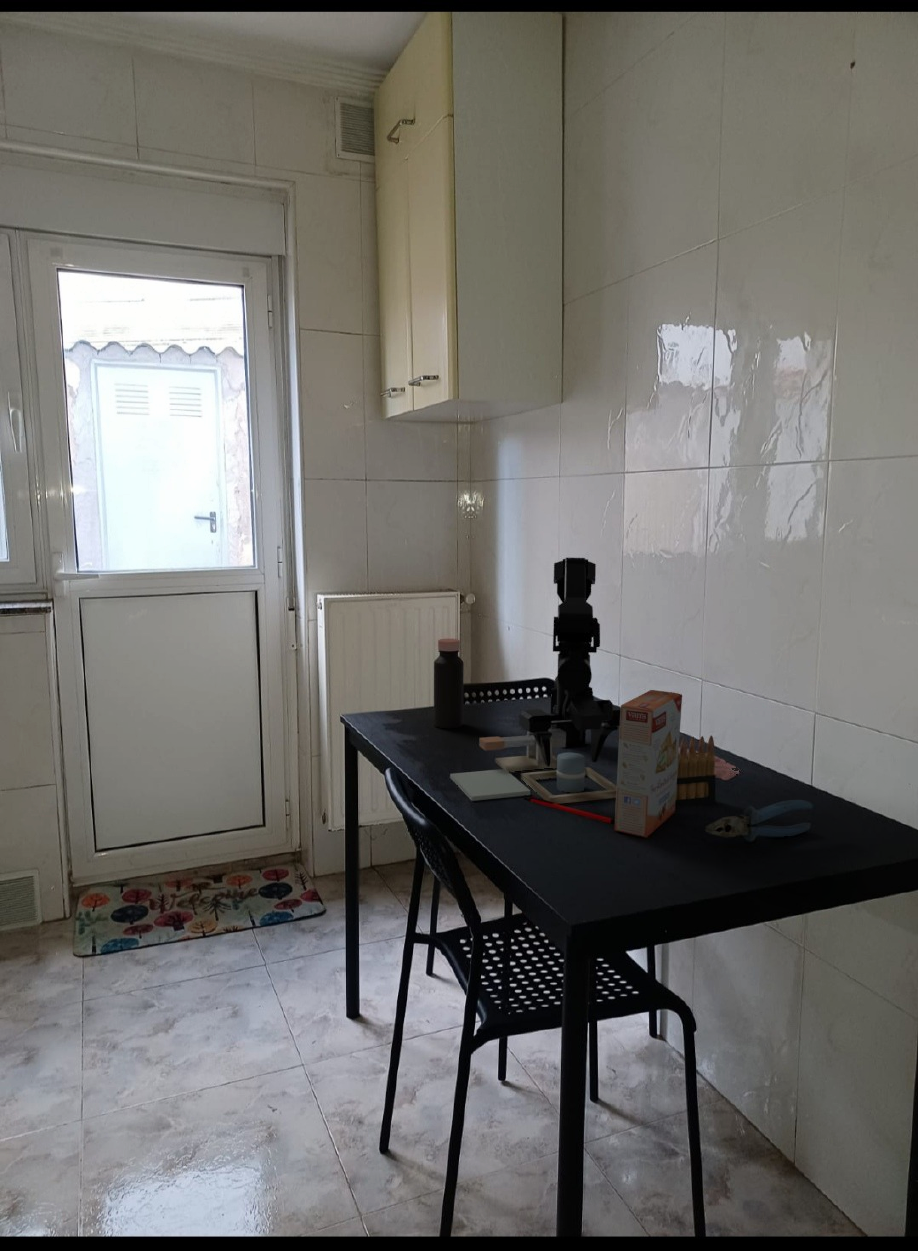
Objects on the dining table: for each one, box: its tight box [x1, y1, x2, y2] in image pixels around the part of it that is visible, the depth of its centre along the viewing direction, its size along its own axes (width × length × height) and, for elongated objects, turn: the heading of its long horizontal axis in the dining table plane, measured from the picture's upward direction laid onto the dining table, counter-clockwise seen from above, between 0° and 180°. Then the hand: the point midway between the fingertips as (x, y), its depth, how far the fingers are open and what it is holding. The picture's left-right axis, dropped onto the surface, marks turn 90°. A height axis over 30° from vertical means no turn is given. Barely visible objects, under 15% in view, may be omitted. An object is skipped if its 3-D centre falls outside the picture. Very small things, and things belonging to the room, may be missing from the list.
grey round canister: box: [556, 752, 586, 794], centre depth 160 cm, size 5×5×6 cm
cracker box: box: [614, 689, 683, 839], centre depth 143 cm, size 14×6×21 cm, turn 148°
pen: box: [523, 796, 615, 825], centre depth 149 cm, size 1×19×1 cm, turn 51°
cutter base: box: [494, 730, 557, 773], centre depth 174 cm, size 12×7×6 cm, turn 107°
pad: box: [449, 768, 531, 802], centre depth 161 cm, size 11×13×1 cm
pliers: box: [705, 799, 814, 842], centre depth 137 cm, size 20×2×6 cm, turn 112°
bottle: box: [433, 638, 465, 730], centre depth 202 cm, size 7×7×20 cm
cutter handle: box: [478, 728, 567, 751], centre depth 173 cm, size 17×3×3 cm, turn 107°
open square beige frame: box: [520, 766, 617, 805], centre depth 161 cm, size 14×14×1 cm
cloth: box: [678, 746, 740, 781], centre depth 177 cm, size 20×22×2 cm
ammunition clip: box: [675, 735, 717, 808], centre depth 152 cm, size 11×2×12 cm, turn 106°
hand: (571, 763), depth 160 cm, fingers open, 9 cm apart
